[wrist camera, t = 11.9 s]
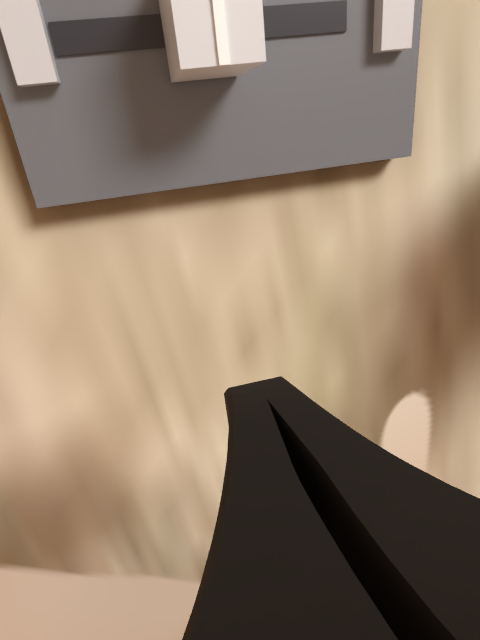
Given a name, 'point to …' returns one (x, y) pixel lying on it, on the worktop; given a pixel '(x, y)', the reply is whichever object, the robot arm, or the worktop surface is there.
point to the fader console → (201, 96)
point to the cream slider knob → (212, 37)
